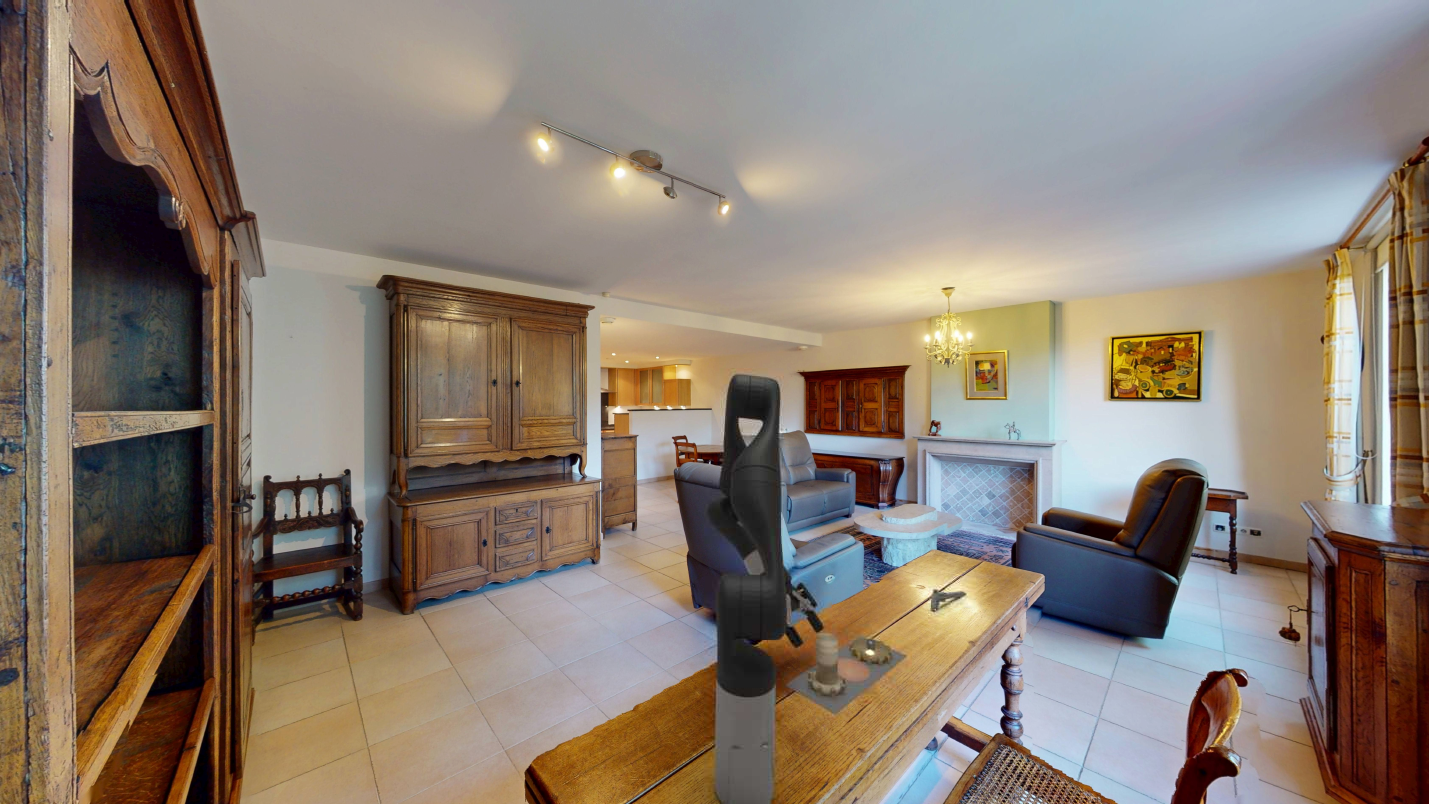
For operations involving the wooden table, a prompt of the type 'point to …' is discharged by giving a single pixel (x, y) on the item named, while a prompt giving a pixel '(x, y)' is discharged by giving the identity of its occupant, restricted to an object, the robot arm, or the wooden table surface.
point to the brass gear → (871, 651)
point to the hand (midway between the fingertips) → (810, 638)
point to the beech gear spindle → (826, 668)
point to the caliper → (943, 597)
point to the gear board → (846, 679)
